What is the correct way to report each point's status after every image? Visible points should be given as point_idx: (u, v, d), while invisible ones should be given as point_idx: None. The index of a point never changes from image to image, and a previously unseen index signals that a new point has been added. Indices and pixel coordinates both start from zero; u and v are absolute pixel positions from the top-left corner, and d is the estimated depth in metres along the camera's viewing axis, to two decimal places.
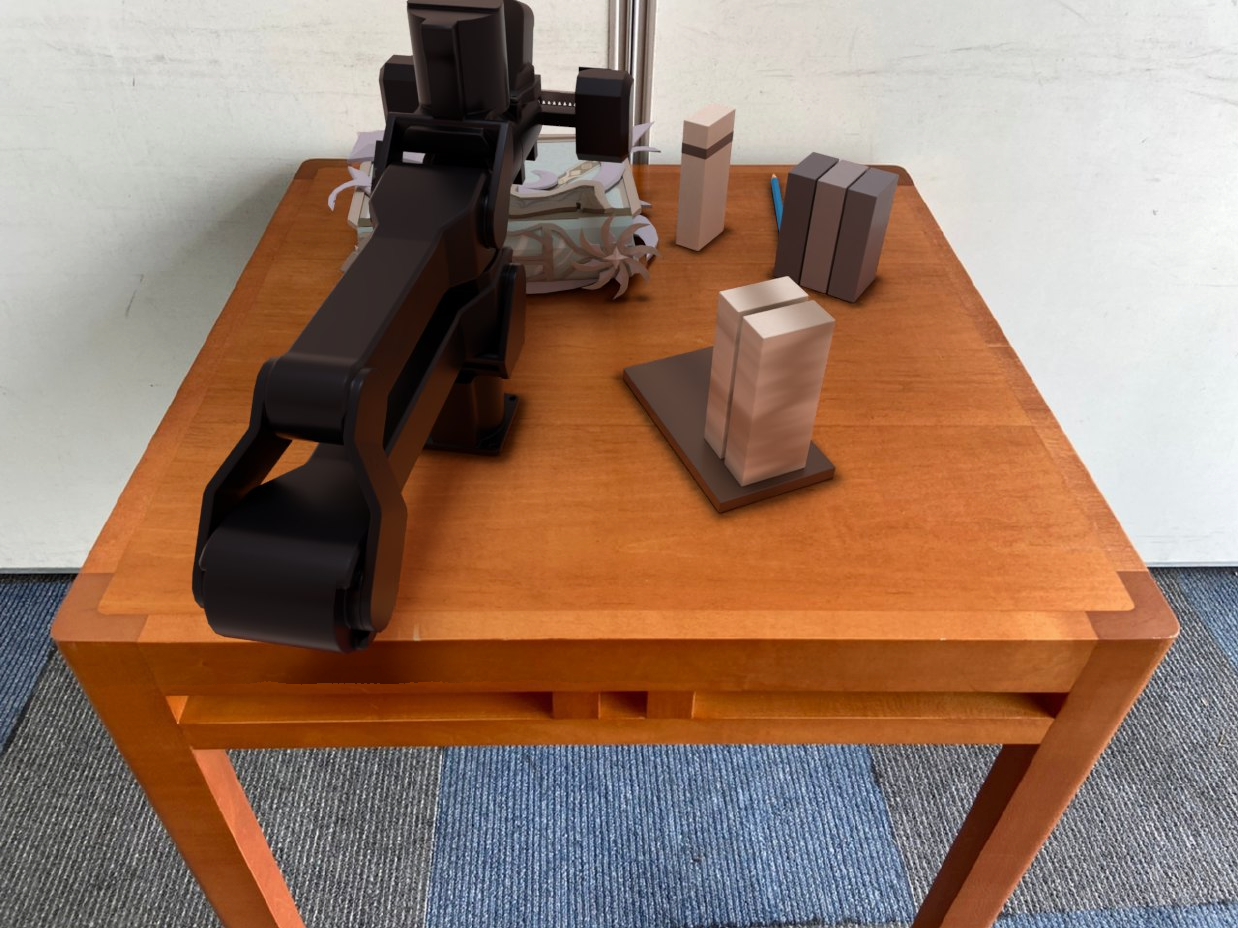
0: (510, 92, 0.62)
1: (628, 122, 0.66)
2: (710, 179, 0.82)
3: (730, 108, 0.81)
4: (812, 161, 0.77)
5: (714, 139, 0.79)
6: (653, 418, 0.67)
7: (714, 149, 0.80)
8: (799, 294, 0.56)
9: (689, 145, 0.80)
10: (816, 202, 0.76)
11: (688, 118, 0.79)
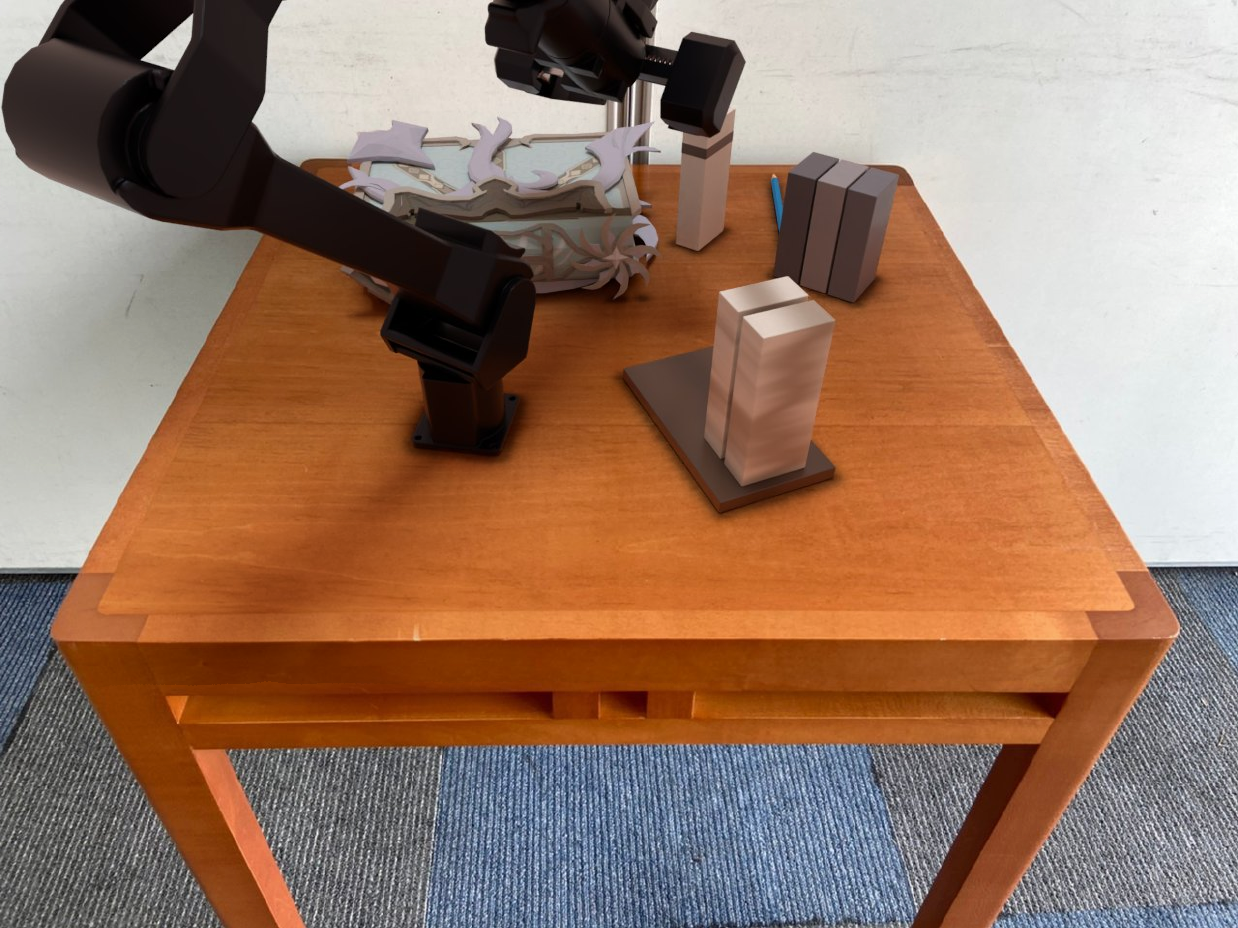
0: None
1: (724, 81, 0.61)
2: (710, 179, 0.82)
3: (730, 108, 0.81)
4: (812, 161, 0.77)
5: (714, 139, 0.79)
6: (653, 418, 0.67)
7: (714, 149, 0.80)
8: (799, 294, 0.56)
9: (689, 145, 0.80)
10: (816, 202, 0.76)
11: None
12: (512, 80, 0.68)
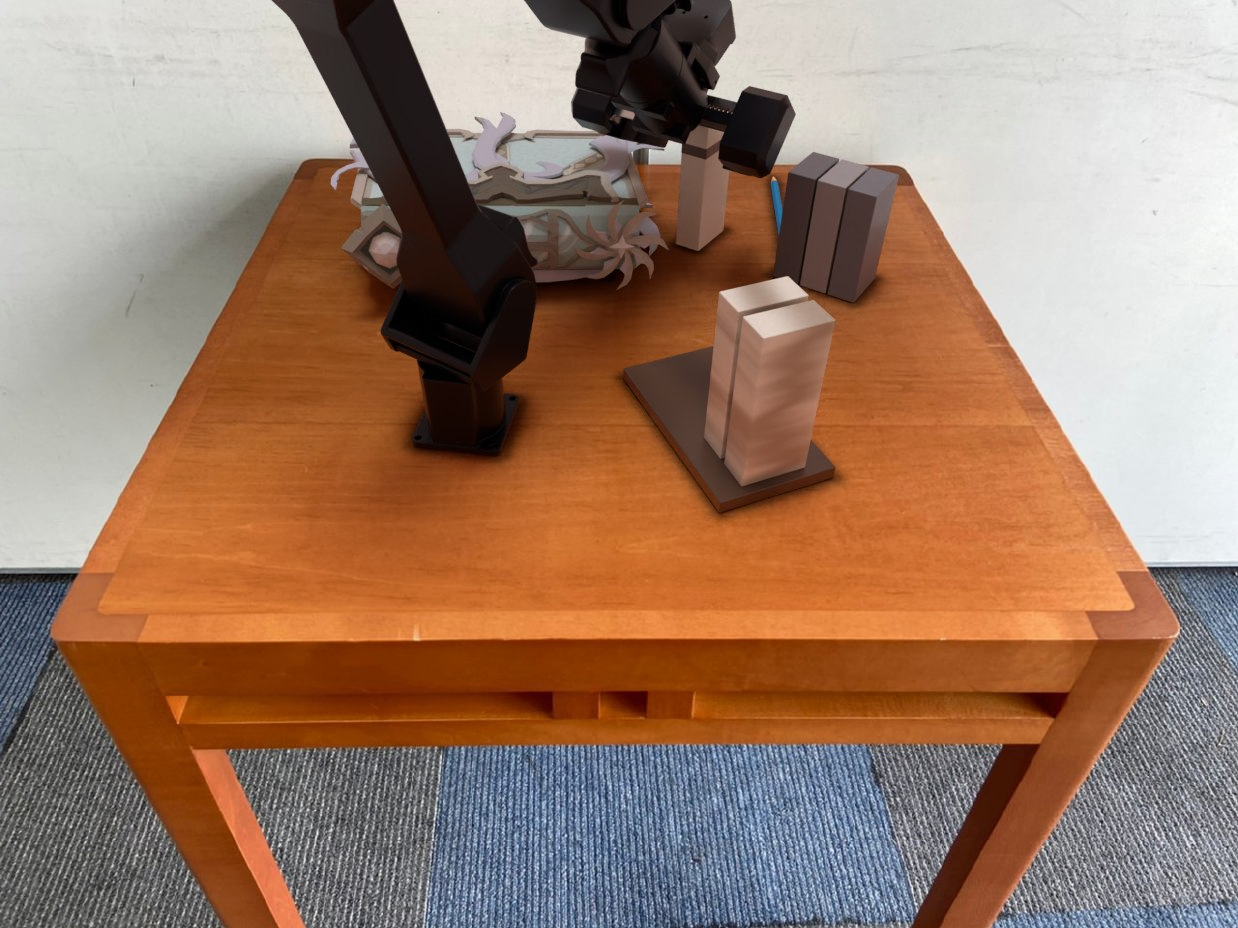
0: None
1: (777, 129, 0.70)
2: (710, 179, 0.82)
3: None
4: (812, 161, 0.77)
5: (714, 139, 0.79)
6: (653, 418, 0.67)
7: (714, 149, 0.80)
8: (799, 294, 0.56)
9: (689, 145, 0.80)
10: (816, 202, 0.76)
11: None
12: (586, 120, 0.77)
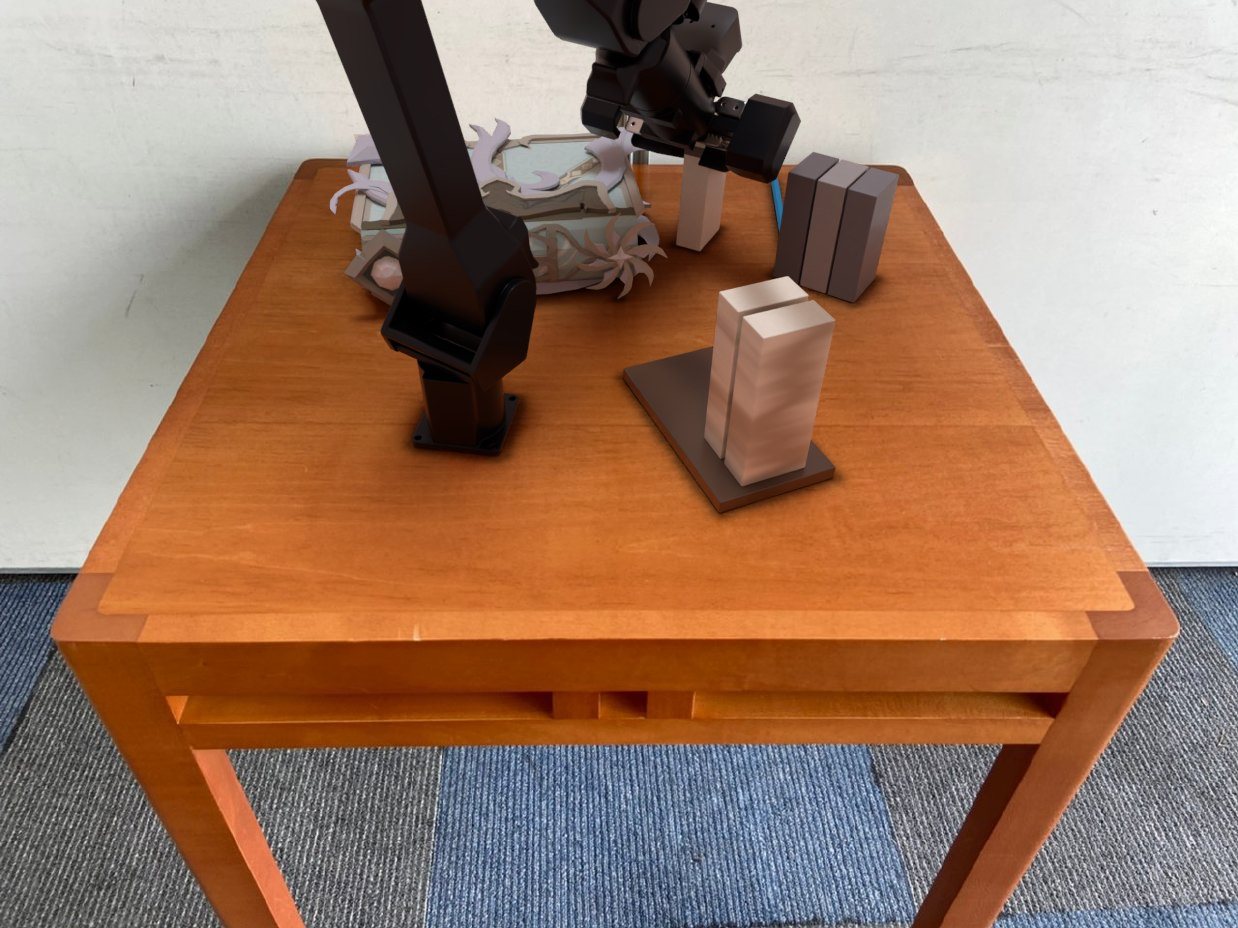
0: None
1: (783, 136, 0.72)
2: (712, 179, 0.82)
3: None
4: (812, 161, 0.77)
5: None
6: (653, 418, 0.67)
7: None
8: (799, 294, 0.56)
9: None
10: (816, 202, 0.76)
11: None
12: (595, 127, 0.79)
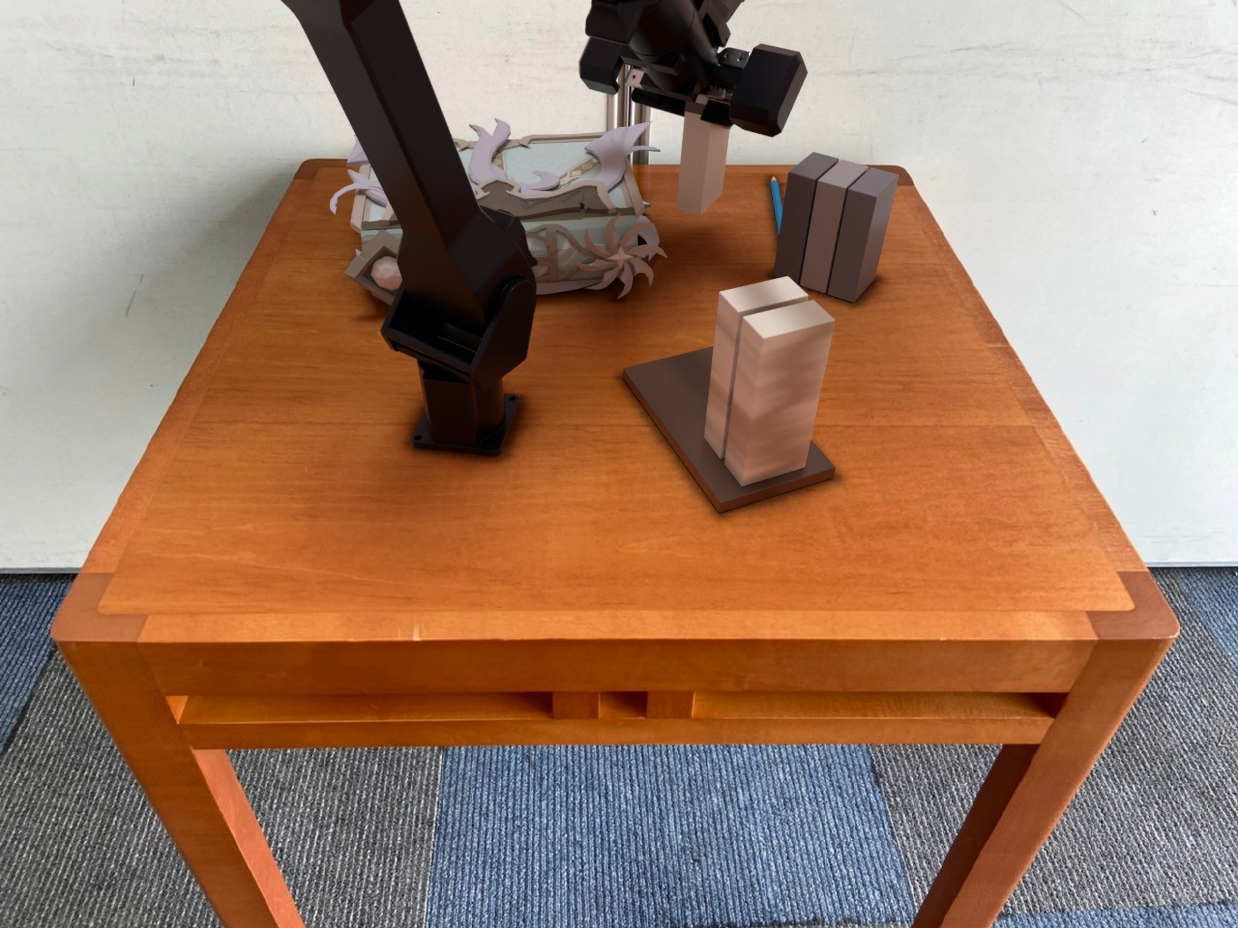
0: None
1: (789, 86, 0.69)
2: (714, 139, 0.79)
3: None
4: (812, 161, 0.77)
5: None
6: (653, 418, 0.67)
7: None
8: (799, 294, 0.56)
9: None
10: (816, 202, 0.76)
11: None
12: (594, 81, 0.76)
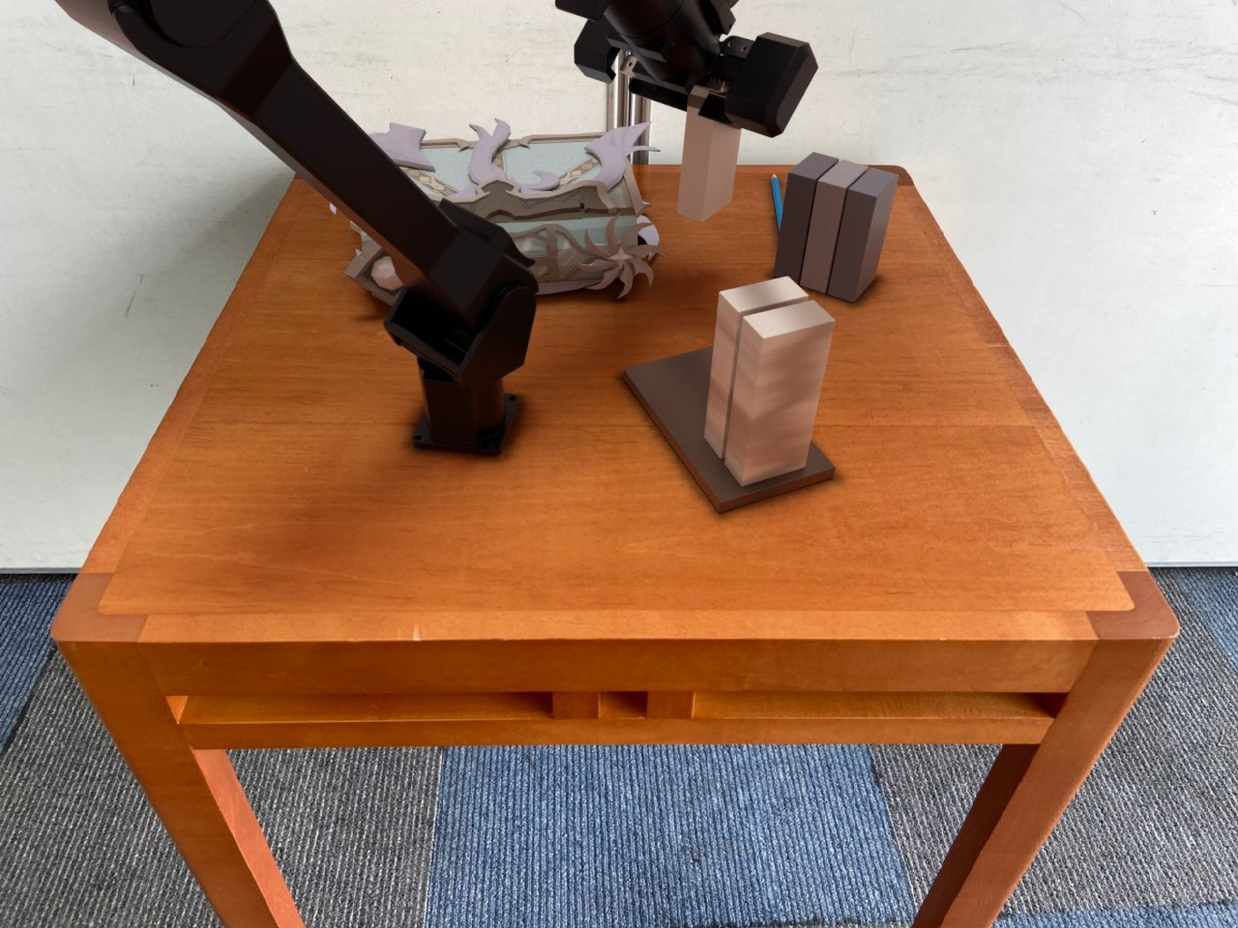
0: None
1: (792, 80, 0.61)
2: (719, 138, 0.71)
3: None
4: (812, 161, 0.77)
5: None
6: (653, 418, 0.67)
7: None
8: (799, 294, 0.56)
9: (696, 96, 0.69)
10: (816, 202, 0.76)
11: None
12: (588, 67, 0.69)
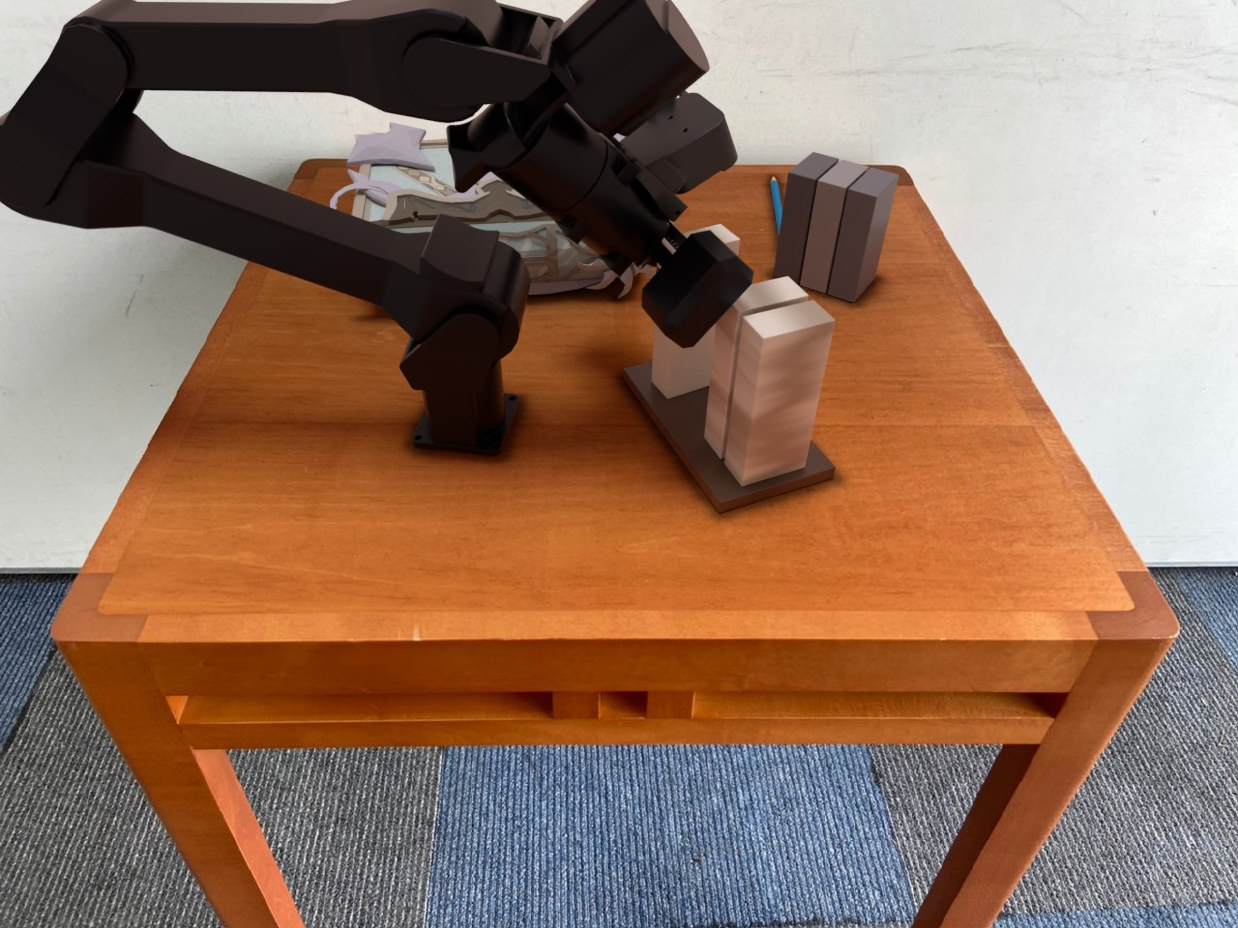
0: (641, 163, 0.54)
1: (704, 296, 0.52)
2: None
3: (733, 237, 0.61)
4: (812, 161, 0.77)
5: None
6: (653, 418, 0.67)
7: None
8: (799, 294, 0.56)
9: None
10: (816, 202, 0.76)
11: None
12: None
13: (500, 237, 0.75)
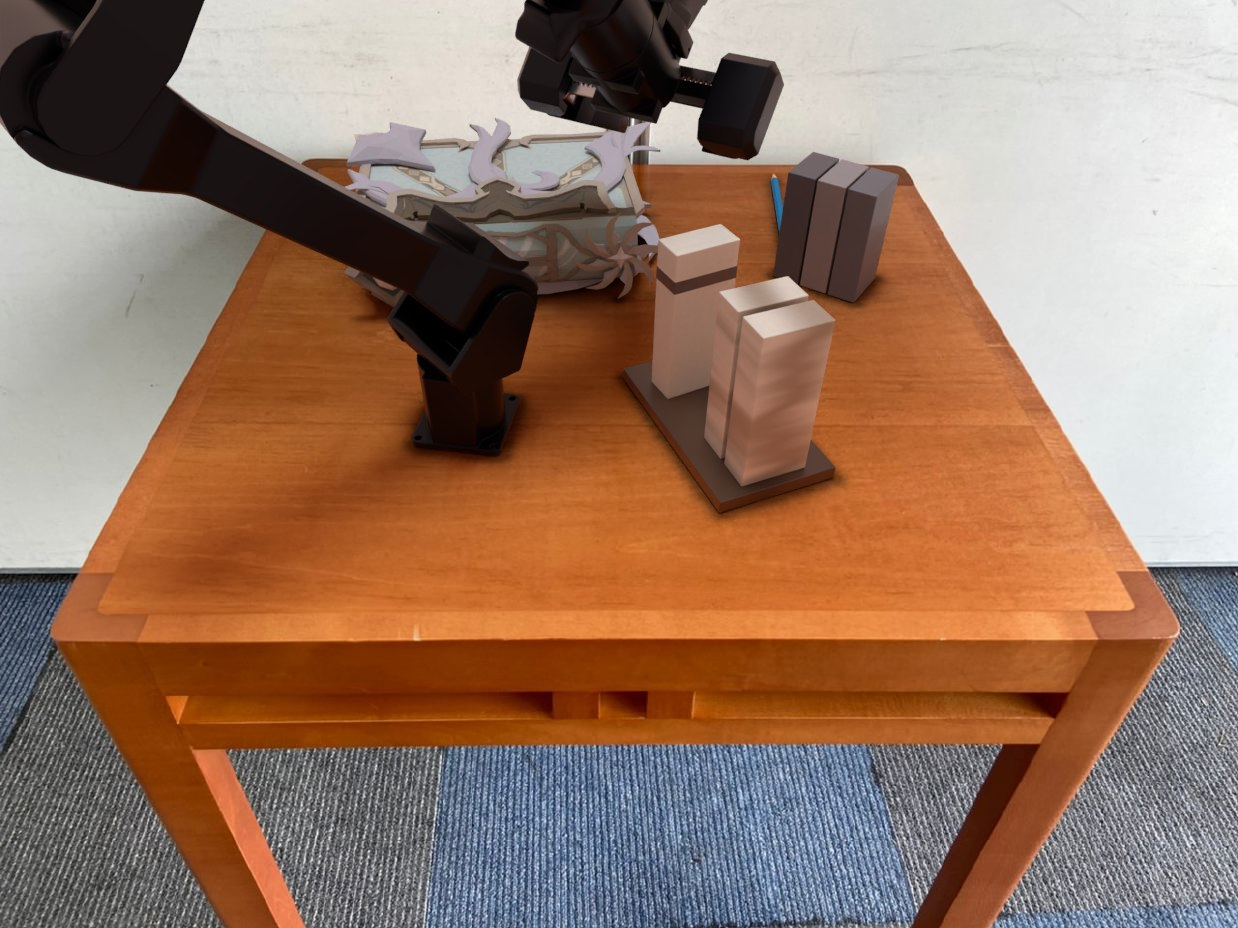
0: None
1: (765, 101, 0.59)
2: (687, 318, 0.63)
3: (733, 237, 0.61)
4: (812, 161, 0.77)
5: (692, 272, 0.61)
6: (653, 418, 0.67)
7: (693, 284, 0.61)
8: (799, 294, 0.56)
9: (662, 271, 0.62)
10: (816, 202, 0.76)
11: (665, 238, 0.61)
12: (537, 101, 0.66)
13: (500, 237, 0.75)
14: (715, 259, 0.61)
